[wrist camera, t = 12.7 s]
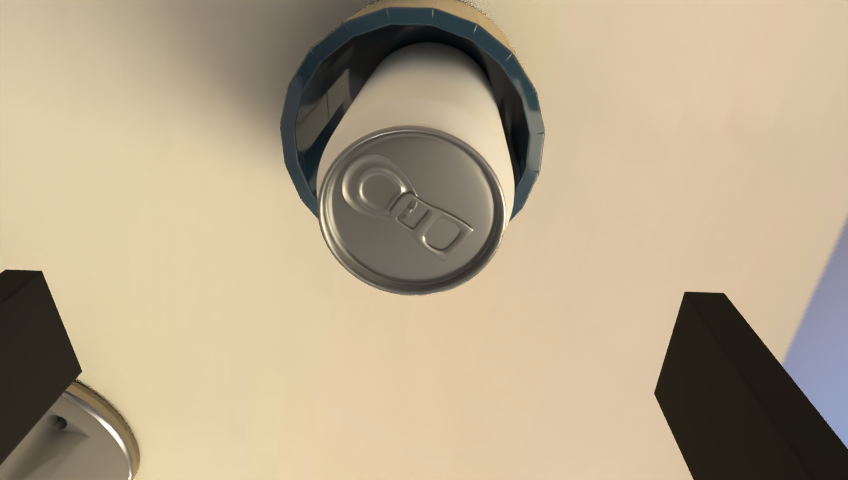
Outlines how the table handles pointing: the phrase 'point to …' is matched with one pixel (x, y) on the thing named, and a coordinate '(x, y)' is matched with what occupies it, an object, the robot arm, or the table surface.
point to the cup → (365, 49)
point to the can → (417, 174)
